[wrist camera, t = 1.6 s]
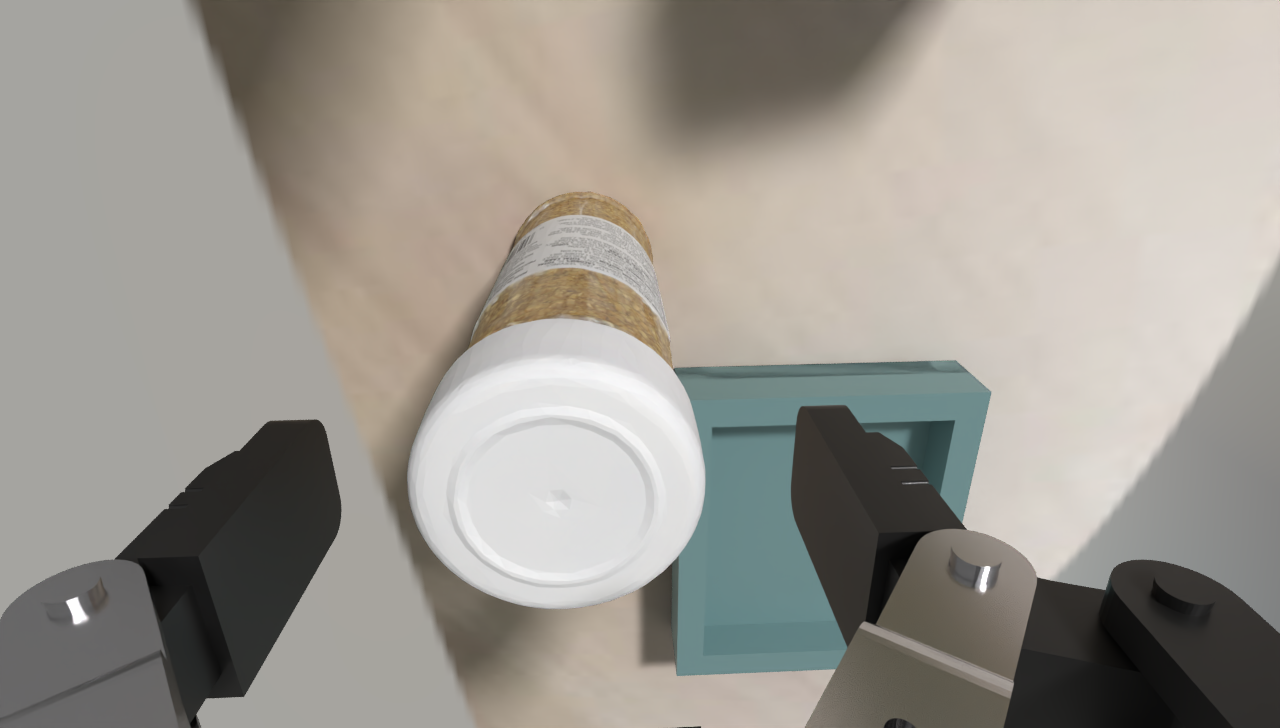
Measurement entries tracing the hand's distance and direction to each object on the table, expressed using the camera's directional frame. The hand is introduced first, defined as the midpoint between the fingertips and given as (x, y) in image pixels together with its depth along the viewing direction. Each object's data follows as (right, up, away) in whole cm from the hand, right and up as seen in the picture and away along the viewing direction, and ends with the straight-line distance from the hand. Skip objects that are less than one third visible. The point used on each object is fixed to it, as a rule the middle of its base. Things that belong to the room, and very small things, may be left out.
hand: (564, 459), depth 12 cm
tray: (+8, -4, +15) cm, 17 cm away
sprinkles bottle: (-1, +5, +11) cm, 12 cm away
